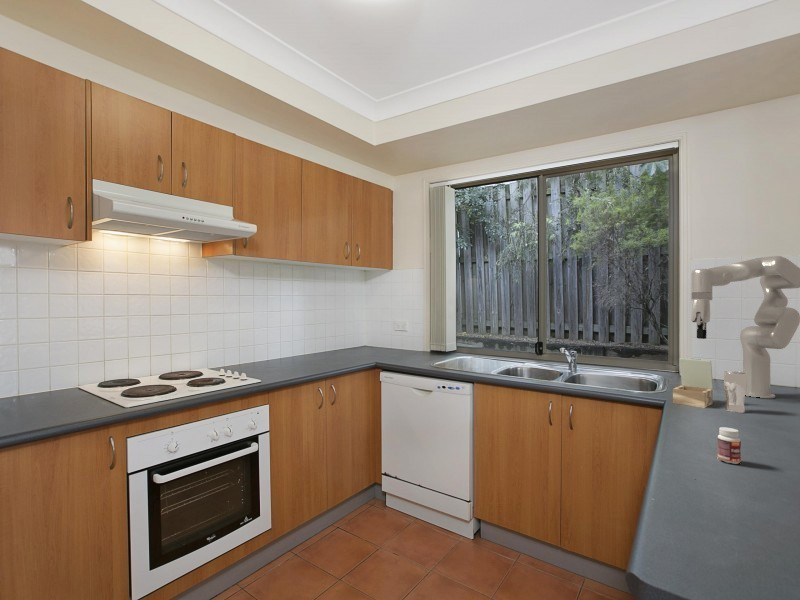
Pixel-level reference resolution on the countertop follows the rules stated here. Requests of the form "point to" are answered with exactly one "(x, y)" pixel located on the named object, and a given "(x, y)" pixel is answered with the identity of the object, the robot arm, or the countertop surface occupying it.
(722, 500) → the countertop surface
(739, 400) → the beer glass
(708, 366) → the box lid
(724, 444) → the pill bottle
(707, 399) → the light wooden box
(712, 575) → the countertop surface
